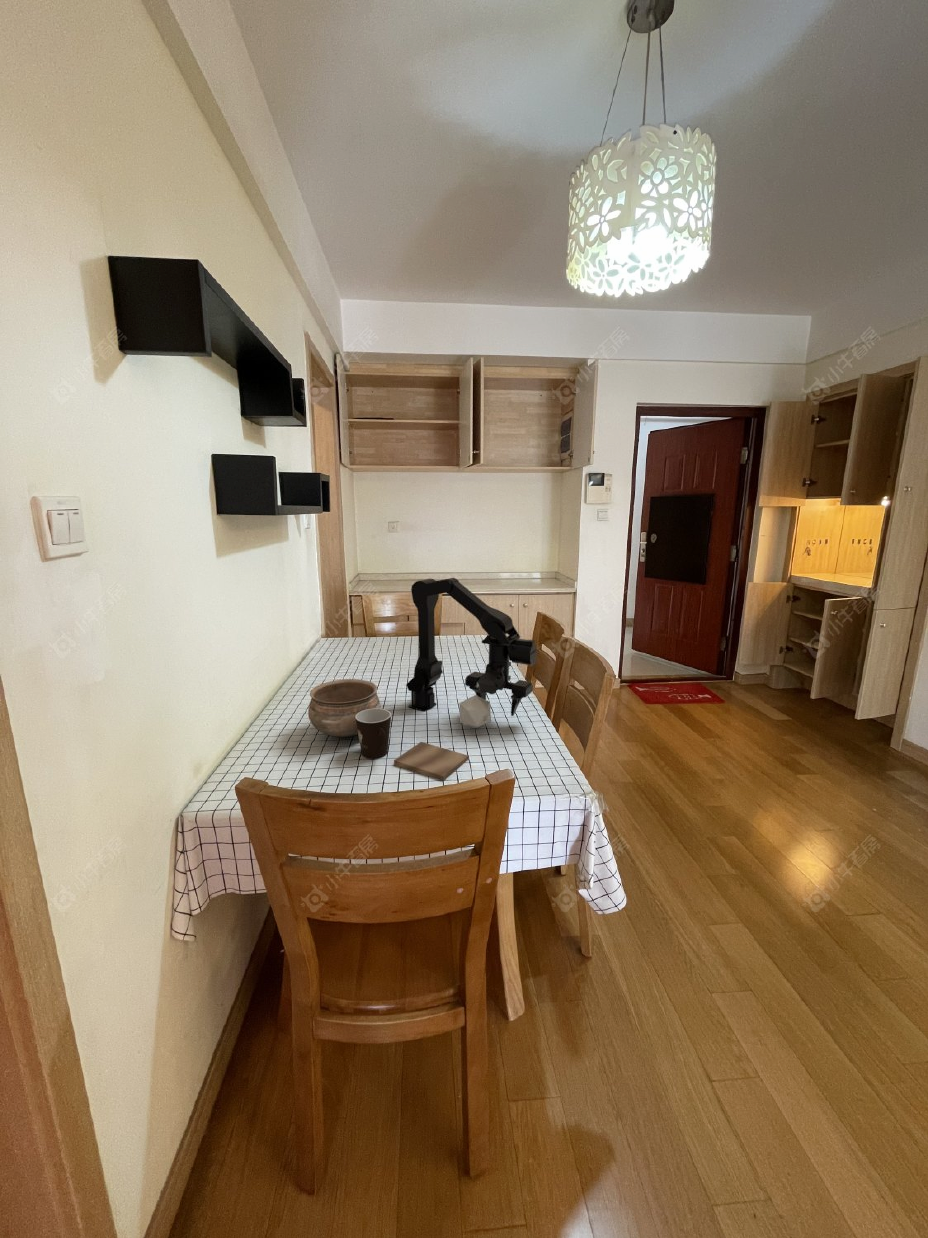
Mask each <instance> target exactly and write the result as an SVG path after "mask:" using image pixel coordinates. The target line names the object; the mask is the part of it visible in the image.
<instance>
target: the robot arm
mask: <svg viewBox="0 0 928 1238" xmlns="http://www.w3.org/2000/svg"><path fill="white" fill-rule="evenodd" d="M410 591H411V597H412V603H413V604H414V606H415V608H416V610H417V627H418V628H417V629H418V630H417V631H418V659H417V660H416V663H415V666H414V671H413V677H412V678H411V679H410V680H409V681H408V682H407V683H406V687H407V690H408V691H410V694H411V695H410V696H411V697H410V698H411V702H410V703H411V704H409V705H408V708H409V709H414V710H417V711H421V712H427V711H429V710H430V709H432V708H434V707H435V706H437V703H436V702H435V700H436V699H435V698H436V697H435V692H434V687H433V686H435V685H437V683H438V681H439V679H440V678H441V677H442V674H443V673H444V671H443V661H442V660H438V658H437V656H436V637H435V636H436V635H435V633H436V631H435V626H436V625H435V608H436V605H437V603H438V602H439V597H440V594H447V595H449V596H450V598H452V599H453V600H455V601H456V602H457V603H458V604H459V605H460V606H461V607H463V608H464V609H465V610H466V611H467V612H468V613H470V614H471V615H473V617H474V618H476V619H477V620H478V623H480V624H479V625H480V626H481V628H482V629H483V630H484V631H485V632H486V634H487V635H486V637H485V638H484V639H482V640H481V644H486V645H488V663H487V664H486V666H485V671H484V672H479V671H472V672H471V673H469V674H468V675H467V676H466V677H465V679H464V685H465V686H466V687H468V688H469V689H470V690H472V691H473V692H474V693H475V695H477V696H479V697H481V698H483V699H485V700H487V694H489V695H494V694H496V693H497V691H498V690H499V691H503V690H504V689H506V690H510V691H511V694H512V695H510V698H511V705H510V708H511V709H510V716H511V717H514V715H515V714H516V712H517V709H518V707H519V705H520V703H521V701H522V699H523V698H527V697H528V696H529V695H530V694H531V693H533V692H534V691H533V690H534V689H533V688H534V685H533V683H532V681H527V680H522V679H519V680H517V681H516V682H511V681H510V680H511V677H512V676H511V675H510V667H511V666H512V663H514V664H520V665H526V666H534V665H535V664H536V662H537V659H538V653H539V652H538V648H537V645H536V640H534V639H524V638H521V636H520V634H519V632H518V631H517V629H516V627H515V626H514V625H513V624H514V622H513V619H512V618H511V616H509V615H508V614H507V613H504V612H503V611H501V610H499V609H497V608H493V607H491V606H489V605H488V604H486V603H485V602H484V601H483V600H482V599H480V598H479V597H478V596H477V595H476V594H474V593H473V592H472V591H471V590H470V589H468V588H467V587H465V585H463V584H462V582H460V581H459V580H458V579H457V578H455V577H449V578H446V579H441V580H435V579H434V578H431V577H430V578H425V579H421V580H416V581H414V583H413V584H412V585H411V589H410ZM507 635H508V636H507Z"/></svg>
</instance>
